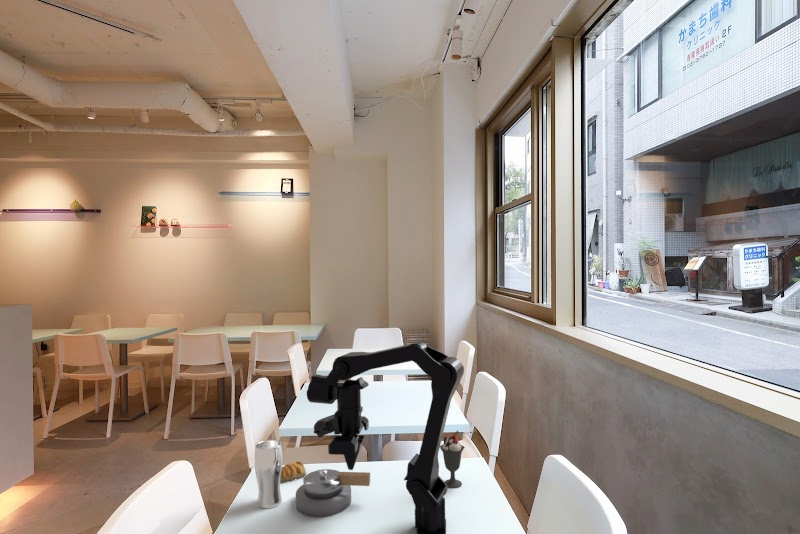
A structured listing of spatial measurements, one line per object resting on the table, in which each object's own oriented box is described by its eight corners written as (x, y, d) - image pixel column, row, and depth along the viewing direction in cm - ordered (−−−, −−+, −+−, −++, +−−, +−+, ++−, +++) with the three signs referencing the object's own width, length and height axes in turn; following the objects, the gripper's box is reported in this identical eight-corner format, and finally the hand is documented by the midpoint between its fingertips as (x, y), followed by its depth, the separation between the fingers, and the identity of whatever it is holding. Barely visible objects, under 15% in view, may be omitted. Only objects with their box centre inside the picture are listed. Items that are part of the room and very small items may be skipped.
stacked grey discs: (356, 489, 126) (355, 478, 126) (344, 518, 112) (344, 505, 112) (305, 488, 128) (305, 477, 128) (288, 516, 114) (287, 503, 114)
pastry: (278, 487, 129) (277, 473, 129) (267, 479, 134) (267, 466, 134) (308, 476, 135) (308, 463, 135) (297, 469, 140) (296, 457, 140)
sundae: (465, 490, 124) (463, 434, 124) (439, 489, 126) (438, 433, 125) (465, 479, 131) (464, 425, 131) (441, 477, 132) (440, 424, 132)
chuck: (298, 498, 115) (297, 479, 115) (310, 480, 125) (309, 462, 125) (366, 500, 114) (365, 481, 114) (373, 481, 124) (372, 463, 124)
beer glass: (249, 506, 119) (248, 447, 119) (269, 493, 125) (267, 437, 125) (270, 512, 116) (268, 451, 116) (289, 499, 122) (287, 441, 122)
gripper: (326, 394, 124) (328, 453, 124) (305, 417, 106) (307, 486, 106) (368, 394, 123) (369, 454, 123) (353, 417, 105) (355, 487, 105)
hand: (350, 469), depth 114 cm, fingers closed
